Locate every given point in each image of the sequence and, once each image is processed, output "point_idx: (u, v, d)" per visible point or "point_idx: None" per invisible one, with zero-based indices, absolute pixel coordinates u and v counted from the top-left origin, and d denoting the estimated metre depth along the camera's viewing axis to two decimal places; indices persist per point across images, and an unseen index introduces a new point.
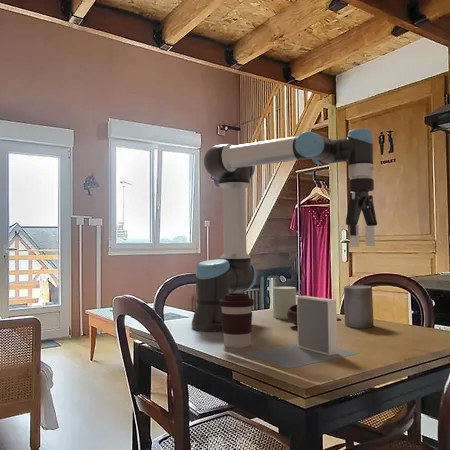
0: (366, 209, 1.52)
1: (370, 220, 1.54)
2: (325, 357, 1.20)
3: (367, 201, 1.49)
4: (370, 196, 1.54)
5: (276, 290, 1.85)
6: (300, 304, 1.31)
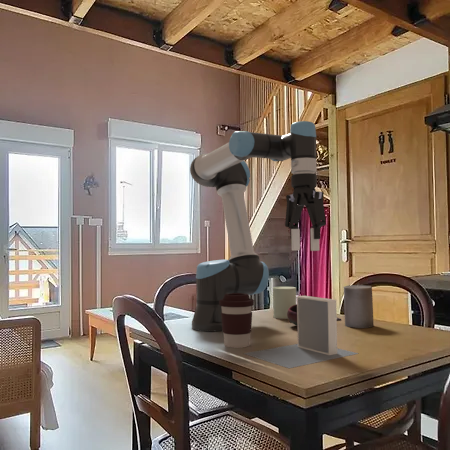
0: None
1: None
2: (325, 357, 1.20)
3: None
4: None
5: (276, 290, 1.85)
6: (300, 304, 1.31)
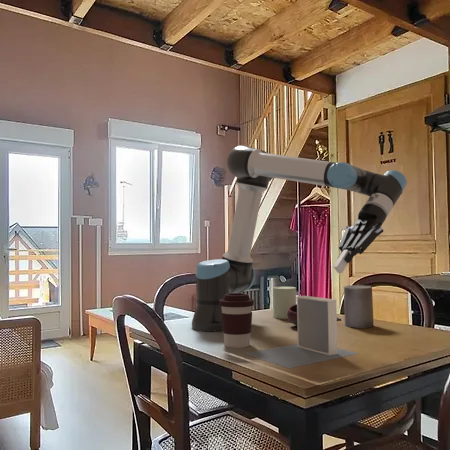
0: None
1: None
2: (325, 357, 1.20)
3: None
4: None
5: (276, 290, 1.85)
6: (300, 304, 1.31)
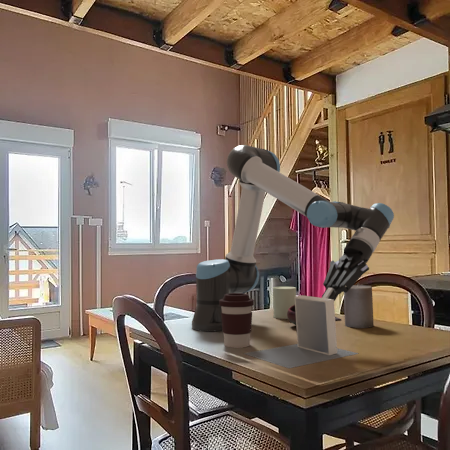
0: None
1: None
2: (325, 357, 1.20)
3: None
4: None
5: (276, 290, 1.85)
6: (298, 305, 1.31)
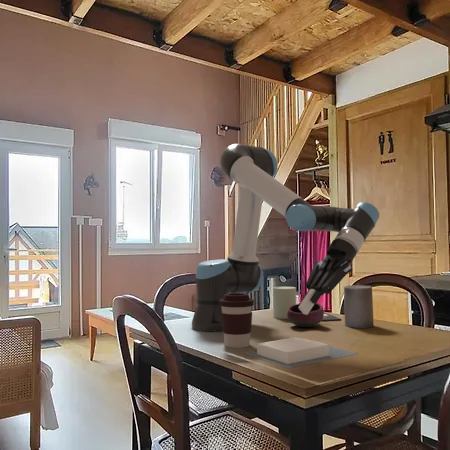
0: None
1: None
2: (325, 357, 1.20)
3: None
4: None
5: (276, 290, 1.85)
6: None
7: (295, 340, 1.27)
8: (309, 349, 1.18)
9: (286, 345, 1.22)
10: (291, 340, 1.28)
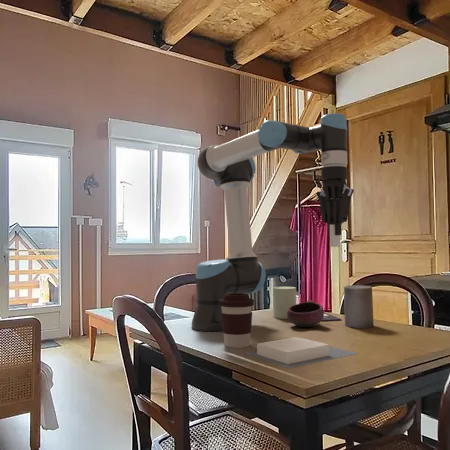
0: None
1: None
2: (325, 357, 1.20)
3: None
4: None
5: (276, 290, 1.85)
6: None
7: (295, 340, 1.27)
8: (309, 349, 1.18)
9: (286, 345, 1.22)
10: (291, 340, 1.28)
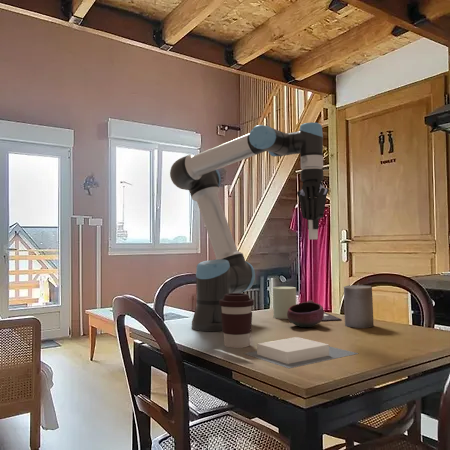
0: None
1: None
2: (325, 357, 1.20)
3: None
4: None
5: (276, 290, 1.85)
6: None
7: (295, 340, 1.27)
8: (309, 349, 1.18)
9: (286, 345, 1.22)
10: (291, 340, 1.28)
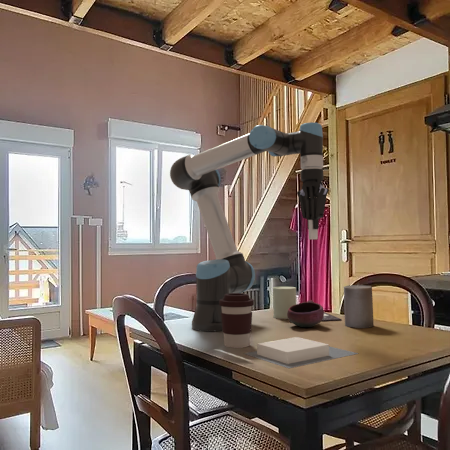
0: None
1: None
2: (325, 357, 1.20)
3: (310, 189, 1.59)
4: None
5: (276, 290, 1.85)
6: None
7: (295, 340, 1.27)
8: (309, 349, 1.18)
9: (286, 345, 1.22)
10: (291, 340, 1.28)
